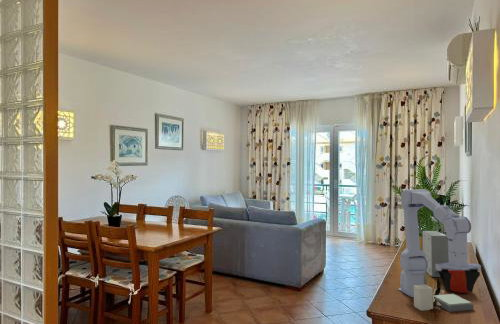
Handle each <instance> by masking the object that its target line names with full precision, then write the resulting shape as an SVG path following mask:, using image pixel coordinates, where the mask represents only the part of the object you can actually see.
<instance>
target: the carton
mask: <svg viewBox="0 0 500 324" xmlns="http://www.w3.org/2000/svg"><path fill="white" fill-rule="evenodd" d="M433 289H434V288H433V287H431V286H429V285H428V284H427V285H414V297H413V306H414V308H416V309H417V310H419V311H430V309H433V310H434V303H433V295H434V293H433V292H434V291H433Z"/></svg>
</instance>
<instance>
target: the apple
mask: <svg viewBox="0 0 500 324" xmlns="http://www.w3.org/2000/svg"><path fill="white" fill-rule="evenodd" d="M448 271H449V273H451V274H452V275H451V280H450V292H455V293H457V294H459V293H460V294H467V293H469V291H468V290H467V287H466V275H465V271H464V270H448ZM441 281H442V280H441ZM442 283H443V281H442Z"/></svg>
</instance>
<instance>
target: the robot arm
mask: <svg viewBox="0 0 500 324" xmlns="http://www.w3.org/2000/svg"><path fill="white" fill-rule="evenodd" d="M400 204H401V209H403V220H404V234H405V245H406V248H405V249H404V250H403V251H401V253H400V259H399V260H400V261H399V265H400V269H401V272H400V275H399V280H400V281H399V282H400V285H399V287H400V288H398V290H399V291H400V292H402V293H404V294H406V295H407V296H409V297H411V298H414V285H424V273H425V271H426V270H427V269H428V261H427V258H426V254H425V253H424V252H423V249H422V248H421V244H420V233H419V231H420V230H419V221H418V220H419V219H418V211H419V210H420V209H422V208H423V207H426V208H428V209H429V210H430V211H432V212H433V216H434V218H435V219H436V220H438V221H439V222H440V223H441V224H442V225H443V228H444V230H445V235H446V236H447V238H448V263H442V264H436V270H437V271H438V273H439V275H440V277H439V278H441V281H443V282H442V283H443V287H444V288H443V289H444V291H445V292H447V293H450V292H451V290H450V280H451V275H452V274H451V273H449V271H448V270H464V271H465V275H466V287H467V290H468V291H469V292H470V293H473V291H474V287H475V284H476V282H477V280H478V278H479V277H480V275H481V273H480V271H482V265H481V264H479V263H468V261H469V260H468V234H469V233H470V232H471V231H472V223H471V221H470V219H468V217H466V216H461V215H458V214H457V212H454V211H453V210H452V209H451V208H450V206H448V205H444V204H440V203H439V202H438V201H436V199H435V198H433V196H432V193H431V191H429V190H428V189H427V188H423V189H421V188H420V189H418V188H417V189H409V188H408V189H407V188H405V189H403V191H402V192H401V194H400ZM469 292H468V293H469Z"/></svg>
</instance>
